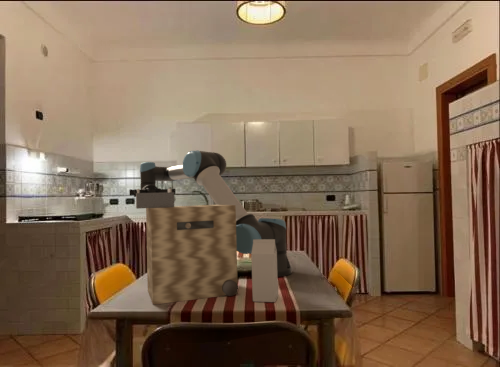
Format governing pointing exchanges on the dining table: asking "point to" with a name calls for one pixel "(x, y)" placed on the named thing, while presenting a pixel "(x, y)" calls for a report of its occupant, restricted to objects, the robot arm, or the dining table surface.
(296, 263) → the dining table surface
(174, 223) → the zigzag patterned box
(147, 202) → the t handle
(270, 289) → the milk carton
